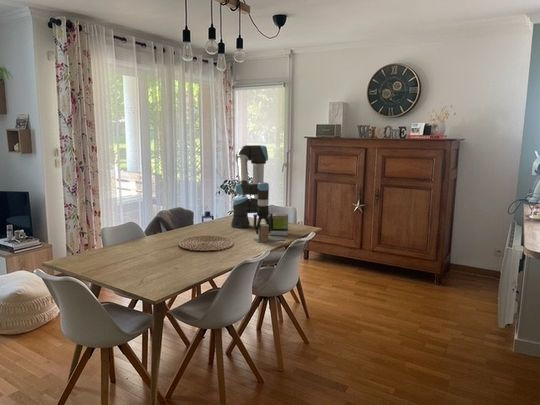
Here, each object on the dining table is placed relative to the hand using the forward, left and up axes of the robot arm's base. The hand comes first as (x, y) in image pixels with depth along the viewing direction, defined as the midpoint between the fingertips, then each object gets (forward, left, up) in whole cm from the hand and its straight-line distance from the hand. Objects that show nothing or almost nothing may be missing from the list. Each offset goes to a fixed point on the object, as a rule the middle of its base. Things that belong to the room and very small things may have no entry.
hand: (262, 238), depth 274 cm
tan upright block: (0, 0, -1) cm, 1 cm away
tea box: (-14, +17, -2) cm, 22 cm away
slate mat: (0, +5, -2) cm, 5 cm away
